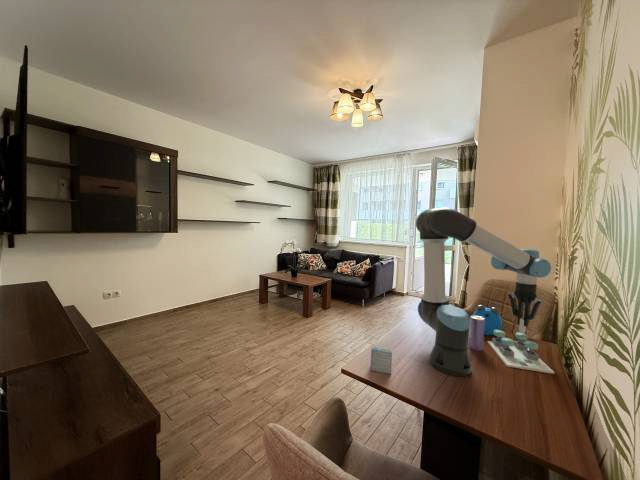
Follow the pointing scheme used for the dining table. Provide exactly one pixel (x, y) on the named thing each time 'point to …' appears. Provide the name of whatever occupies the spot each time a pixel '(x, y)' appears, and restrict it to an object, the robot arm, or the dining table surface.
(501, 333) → the button
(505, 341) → the button
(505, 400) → the dining table surface
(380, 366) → the medicine box
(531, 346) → the button
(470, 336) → the beverage can
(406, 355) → the dining table surface
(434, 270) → the robot arm
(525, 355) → the board
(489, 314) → the alarm clock
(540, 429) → the dining table surface
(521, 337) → the button
